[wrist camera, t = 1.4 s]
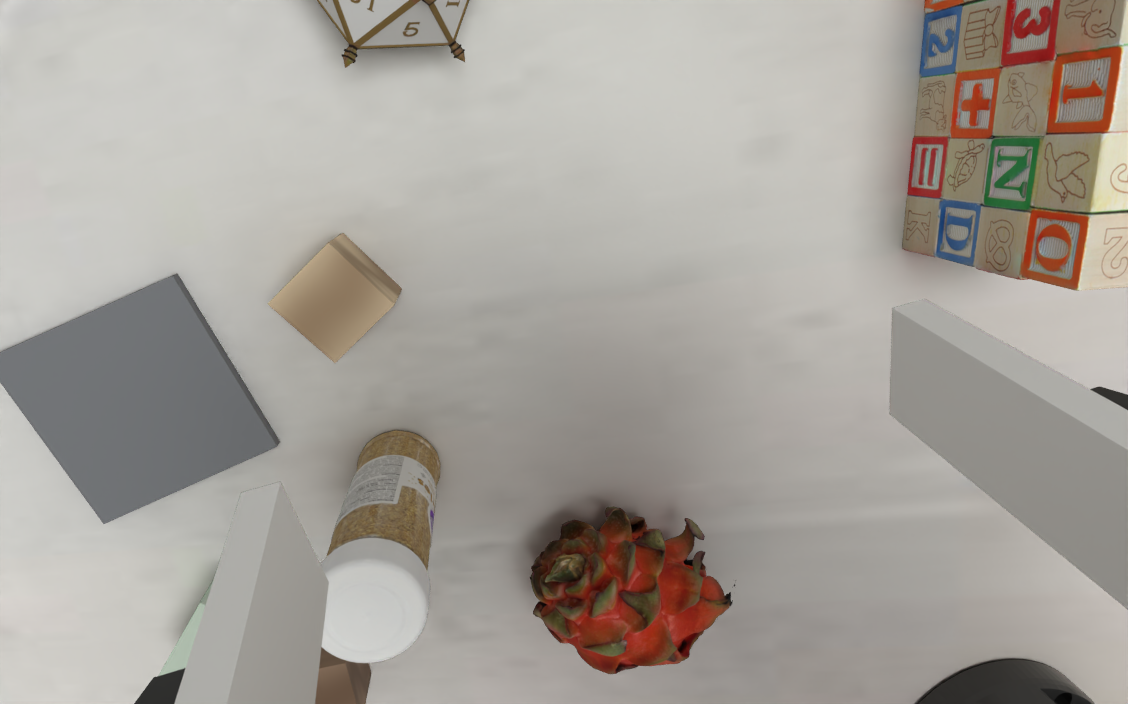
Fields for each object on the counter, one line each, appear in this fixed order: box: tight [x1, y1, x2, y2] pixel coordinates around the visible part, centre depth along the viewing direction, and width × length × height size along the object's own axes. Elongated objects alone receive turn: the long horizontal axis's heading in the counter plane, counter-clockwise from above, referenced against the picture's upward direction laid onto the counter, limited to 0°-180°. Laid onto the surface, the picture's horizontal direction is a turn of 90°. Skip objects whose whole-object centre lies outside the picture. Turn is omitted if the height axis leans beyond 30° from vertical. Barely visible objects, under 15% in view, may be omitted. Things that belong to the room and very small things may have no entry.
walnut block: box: [315, 647, 371, 704], centre depth 40 cm, size 4×4×4 cm
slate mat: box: [0, 274, 280, 524], centre depth 36 cm, size 10×10×1 cm
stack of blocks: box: [902, 0, 1128, 291], centre depth 32 cm, size 21×6×12 cm, turn 3°
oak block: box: [268, 233, 402, 363], centre depth 35 cm, size 4×4×4 cm
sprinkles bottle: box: [321, 430, 440, 663], centre depth 33 cm, size 5×5×13 cm
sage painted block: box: [159, 581, 213, 676], centre depth 39 cm, size 4×5×4 cm
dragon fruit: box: [529, 507, 735, 674], centre depth 40 cm, size 8×8×12 cm
